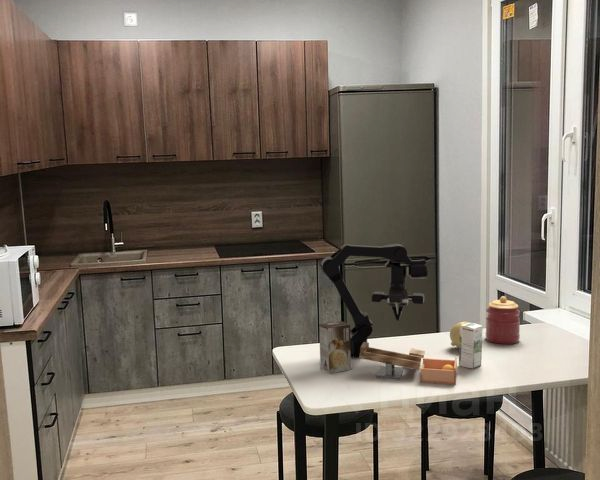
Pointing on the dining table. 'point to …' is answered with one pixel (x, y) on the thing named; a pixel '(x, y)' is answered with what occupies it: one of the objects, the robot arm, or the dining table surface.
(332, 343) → the coffee box
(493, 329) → the canister
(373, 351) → the lever
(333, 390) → the dining table surface
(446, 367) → the ball
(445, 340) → the dining table surface
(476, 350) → the syrup box
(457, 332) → the yellow rounded lump
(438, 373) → the orange open box
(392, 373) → the lever stand
